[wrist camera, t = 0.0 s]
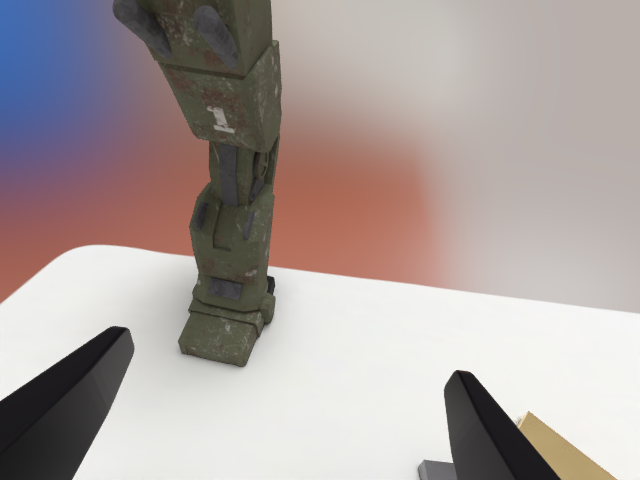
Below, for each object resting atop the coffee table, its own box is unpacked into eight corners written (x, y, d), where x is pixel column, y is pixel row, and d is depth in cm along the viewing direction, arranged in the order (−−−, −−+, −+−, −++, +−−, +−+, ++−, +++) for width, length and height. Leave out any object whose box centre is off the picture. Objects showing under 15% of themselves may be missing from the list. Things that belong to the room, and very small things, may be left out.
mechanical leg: (233, 247, 38) (168, -157, 16) (293, 259, 38) (315, -136, 15) (177, 362, 29) (-178, -217, 6) (256, 379, 28) (172, -168, 6)
